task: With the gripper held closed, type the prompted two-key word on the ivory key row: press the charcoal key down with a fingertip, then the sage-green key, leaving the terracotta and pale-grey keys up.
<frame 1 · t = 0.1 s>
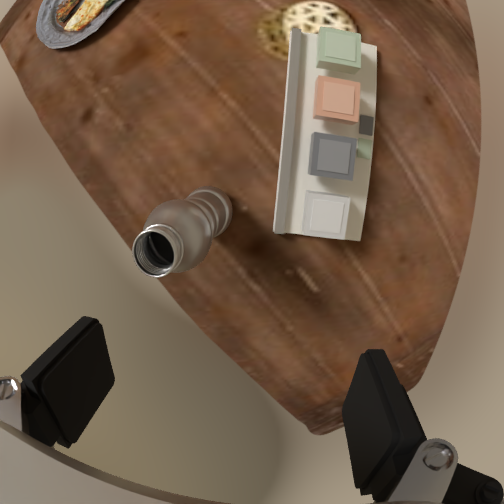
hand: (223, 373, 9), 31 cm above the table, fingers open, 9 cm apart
key sage: (338, 50, 28), point 4 cm above the table, slide at 0.0 cm
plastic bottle: (212, 208, 40), on the table
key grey: (325, 214, 34), point 4 cm above the table, slide at 0.0 cm
key charcoal: (331, 156, 32), point 4 cm above the table, slide at 0.0 cm
keyboard base: (328, 131, 35), on the table
key terracotta: (336, 100, 30), point 4 cm above the table, slide at 0.0 cm
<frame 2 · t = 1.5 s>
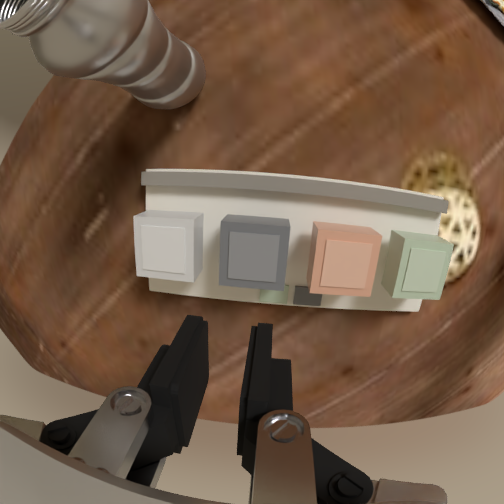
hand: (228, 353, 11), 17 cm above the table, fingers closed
key sage: (417, 265, 22), point 4 cm above the table, slide at 0.0 cm
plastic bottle: (176, 82, 23), on the table
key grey: (169, 244, 23), point 4 cm above the table, slide at 0.0 cm
key charcoal: (254, 251, 23), point 4 cm above the table, slide at 0.0 cm
keyboard base: (296, 241, 27), on the table
key terracotta: (342, 258, 23), point 4 cm above the table, slide at 0.0 cm
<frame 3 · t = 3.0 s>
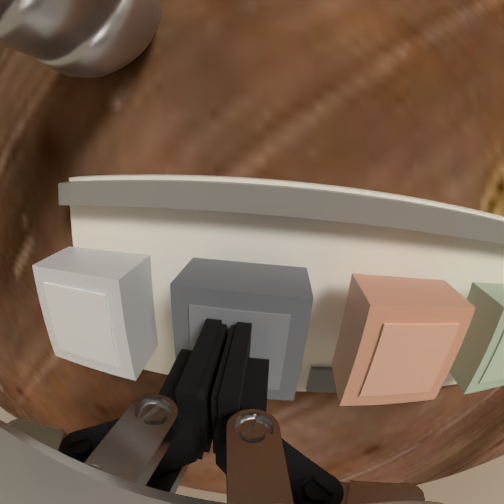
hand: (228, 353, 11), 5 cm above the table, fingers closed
key sage: (500, 336, 11), point 4 cm above the table, slide at 0.0 cm
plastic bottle: (120, 37, 12), on the table
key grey: (95, 310, 12), point 4 cm above the table, slide at 0.0 cm
key charcoal: (241, 330, 12), point 4 cm above the table, slide at 0.3 cm, touching gripper
keyboard base: (315, 298, 15), on the table
key terracotta: (399, 342, 11), point 4 cm above the table, slide at 0.0 cm
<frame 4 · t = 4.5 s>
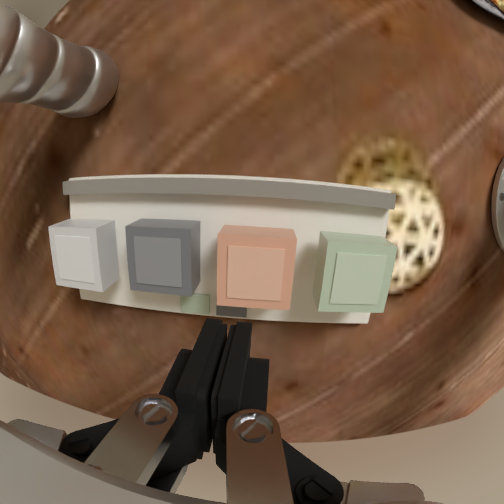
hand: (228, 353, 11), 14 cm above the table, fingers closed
key sage: (352, 272, 20), point 4 cm above the table, slide at 0.0 cm
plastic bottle: (97, 88, 21), on the table
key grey: (83, 253, 21), point 4 cm above the table, slide at 0.0 cm
key charcoal: (164, 255, 22), point 3 cm above the table, slide at 1.0 cm
keyboard base: (215, 247, 24), on the table
key terracotta: (255, 266, 20), point 4 cm above the table, slide at 0.0 cm
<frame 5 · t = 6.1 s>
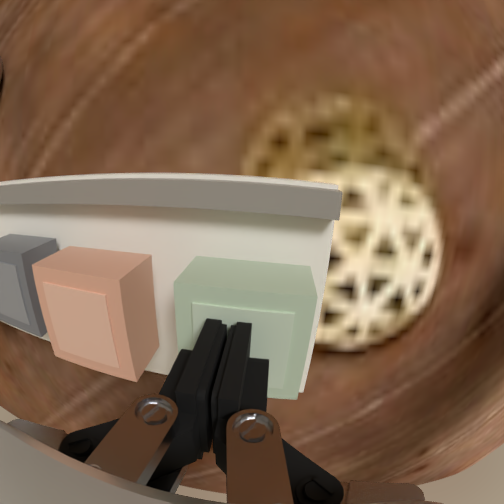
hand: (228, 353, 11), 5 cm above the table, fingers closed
key sage: (245, 329, 12), point 4 cm above the table, slide at 0.4 cm, touching gripper
key charcoal: (21, 281, 14), point 3 cm above the table, slide at 1.0 cm
keyboard base: (86, 271, 16), on the table
key terracotta: (96, 310, 12), point 4 cm above the table, slide at 0.0 cm
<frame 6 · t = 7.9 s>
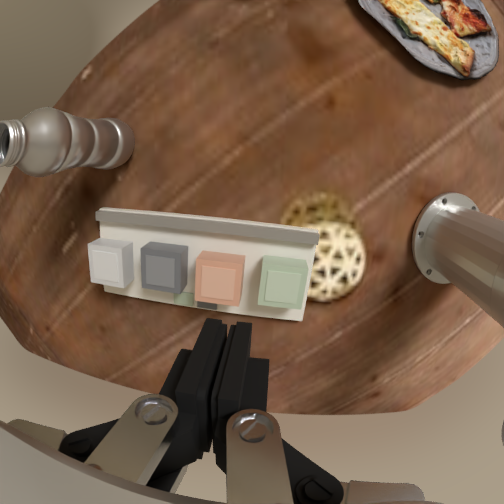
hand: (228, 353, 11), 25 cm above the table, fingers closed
key sage: (282, 282, 33), point 3 cm above the table, slide at 1.0 cm
food plate: (428, 8, 24), on the table
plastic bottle: (118, 144, 33), on the table
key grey: (111, 262, 33), point 4 cm above the table, slide at 0.0 cm
key charcoal: (164, 267, 34), point 3 cm above the table, slide at 1.0 cm
keyboard base: (198, 262, 37), on the table
key terracotta: (220, 278, 33), point 4 cm above the table, slide at 0.0 cm
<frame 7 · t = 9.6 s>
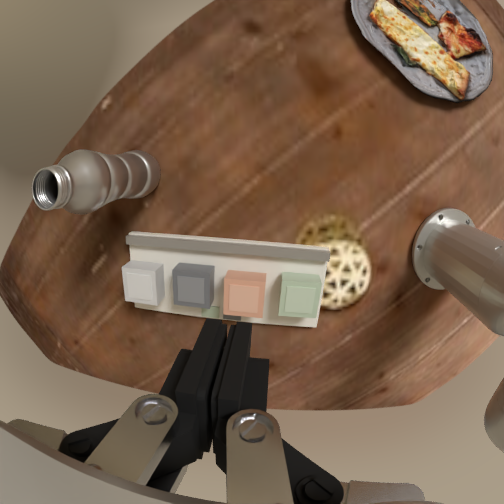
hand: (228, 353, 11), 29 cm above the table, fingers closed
key sage: (299, 295, 38), point 3 cm above the table, slide at 1.0 cm
food plate: (426, 31, 28), on the table
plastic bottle: (144, 173, 38), on the table
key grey: (143, 282, 38), point 4 cm above the table, slide at 0.0 cm
key charcoal: (193, 285, 39), point 3 cm above the table, slide at 1.0 cm
keyboard base: (223, 279, 41), on the table
key terracotta: (244, 293, 37), point 4 cm above the table, slide at 0.0 cm
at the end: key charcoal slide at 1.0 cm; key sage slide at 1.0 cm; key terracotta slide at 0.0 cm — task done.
